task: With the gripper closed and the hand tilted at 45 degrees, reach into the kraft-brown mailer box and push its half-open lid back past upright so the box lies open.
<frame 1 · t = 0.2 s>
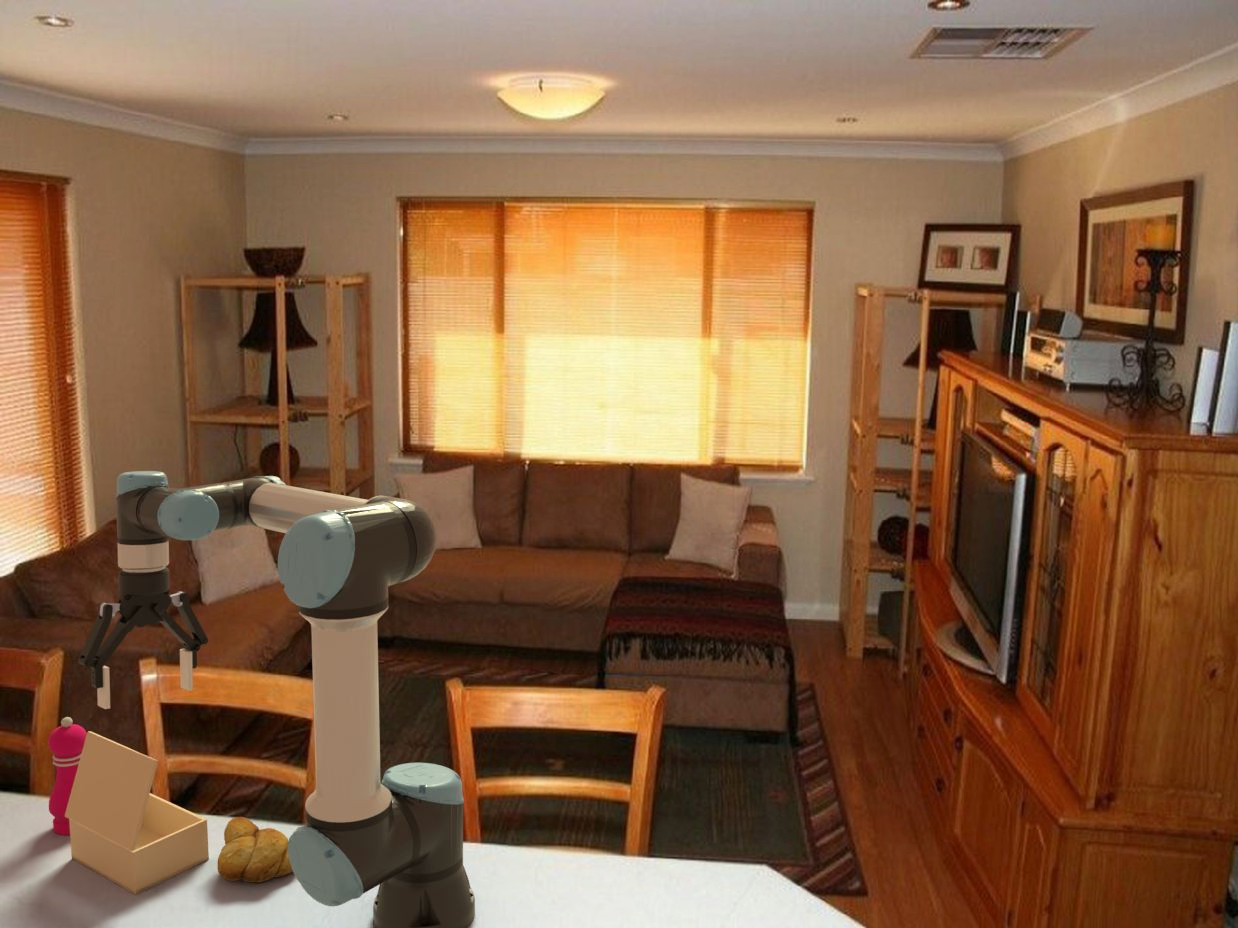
hand: (146, 697, 175), 27 cm above the table, tool pointing down, fingers open, 13 cm apart
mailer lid: (110, 788, 172), point 14 cm above the table, hinge at 70.0°
bread roll: (258, 874, 175), on the table
pepper mill: (73, 827, 188), on the table
mailer box: (140, 858, 178), on the table
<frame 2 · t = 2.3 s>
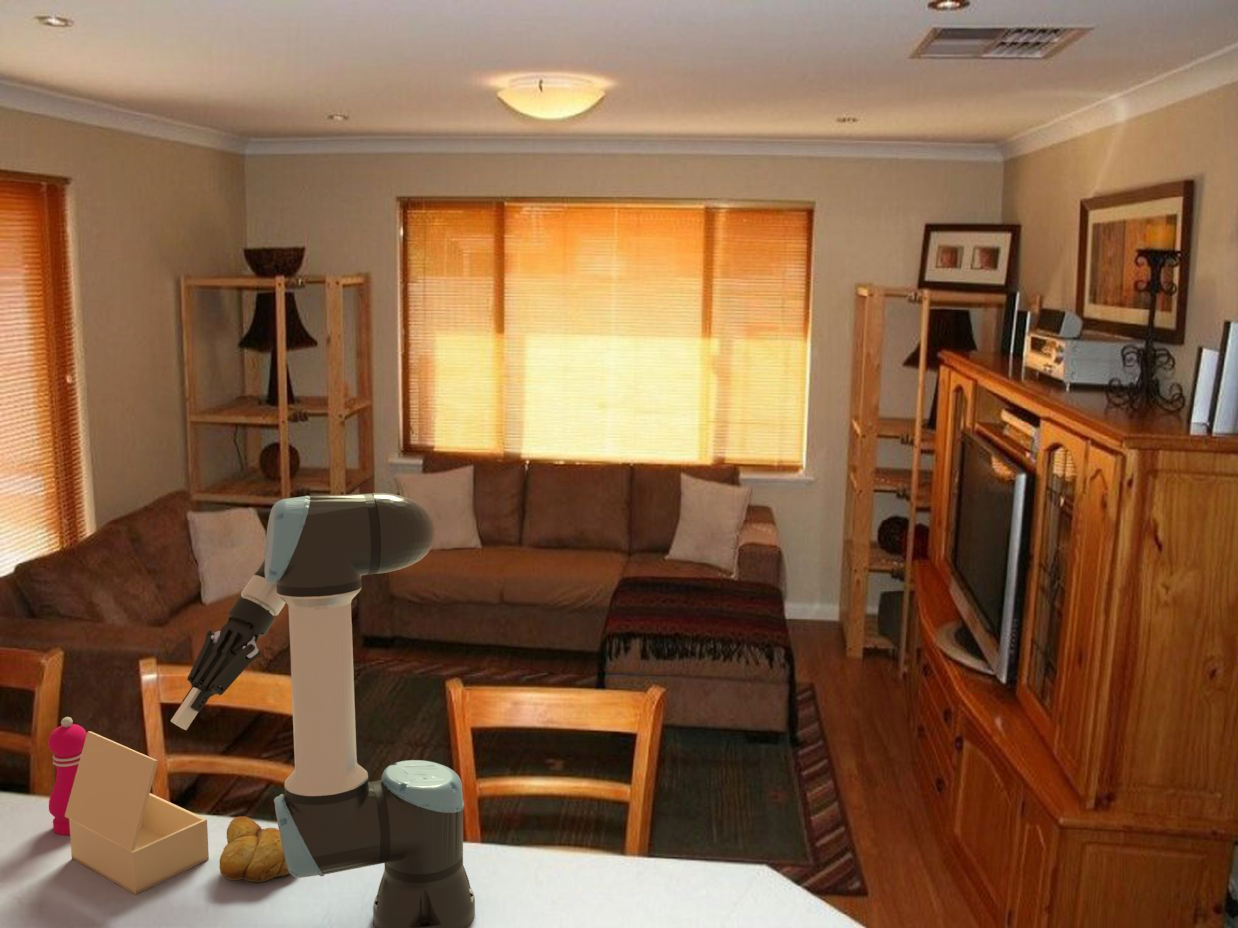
hand: (178, 725, 183), 20 cm above the table, tool tilted 45°, fingers closed
nothing on the table moved.
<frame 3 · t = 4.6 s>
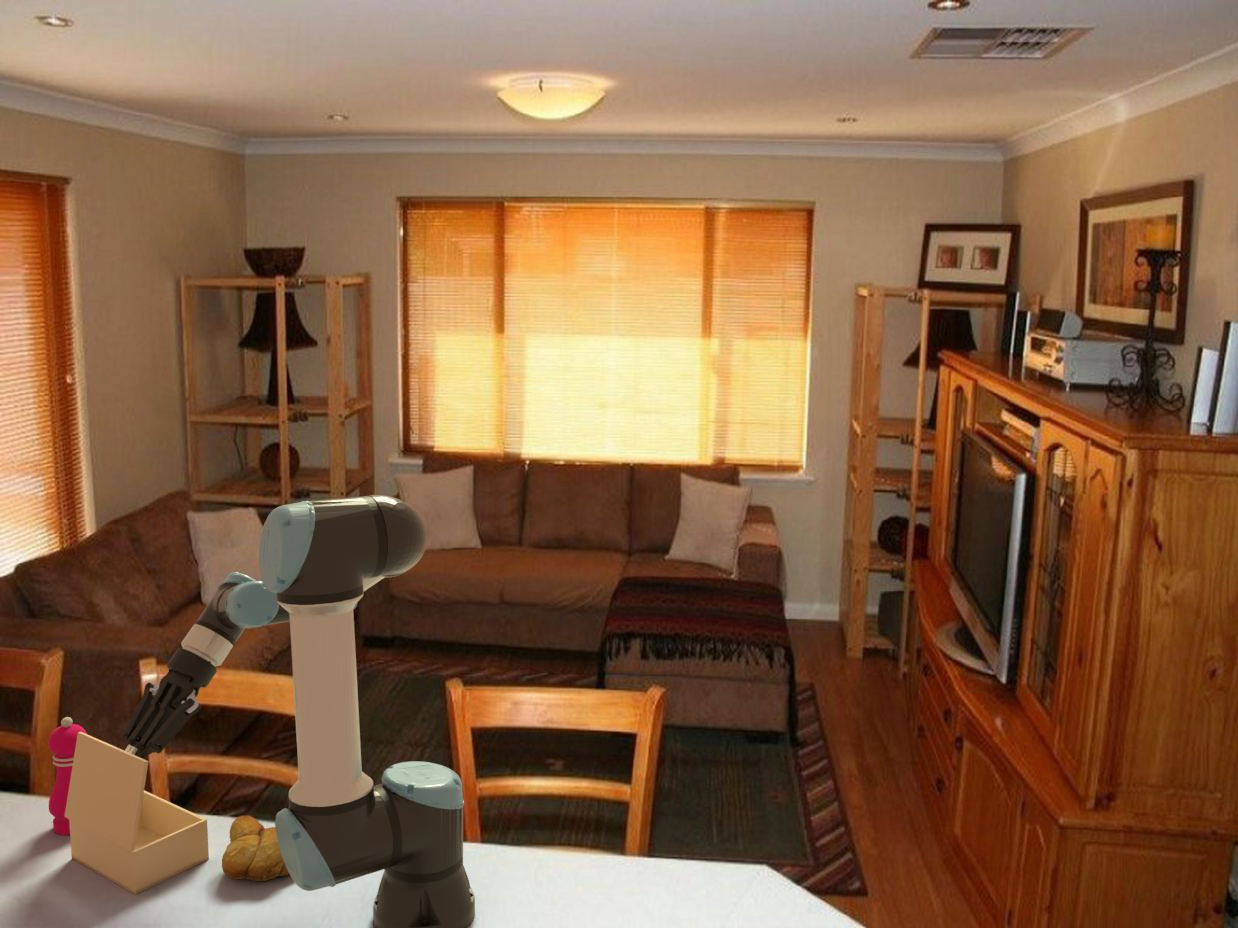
hand: (113, 786, 173), 14 cm above the table, tool tilted 45°, fingers closed, pressing on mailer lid
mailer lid: (105, 789, 171), point 14 cm above the table, hinge at 77.0°, touching gripper
everything else where it was.
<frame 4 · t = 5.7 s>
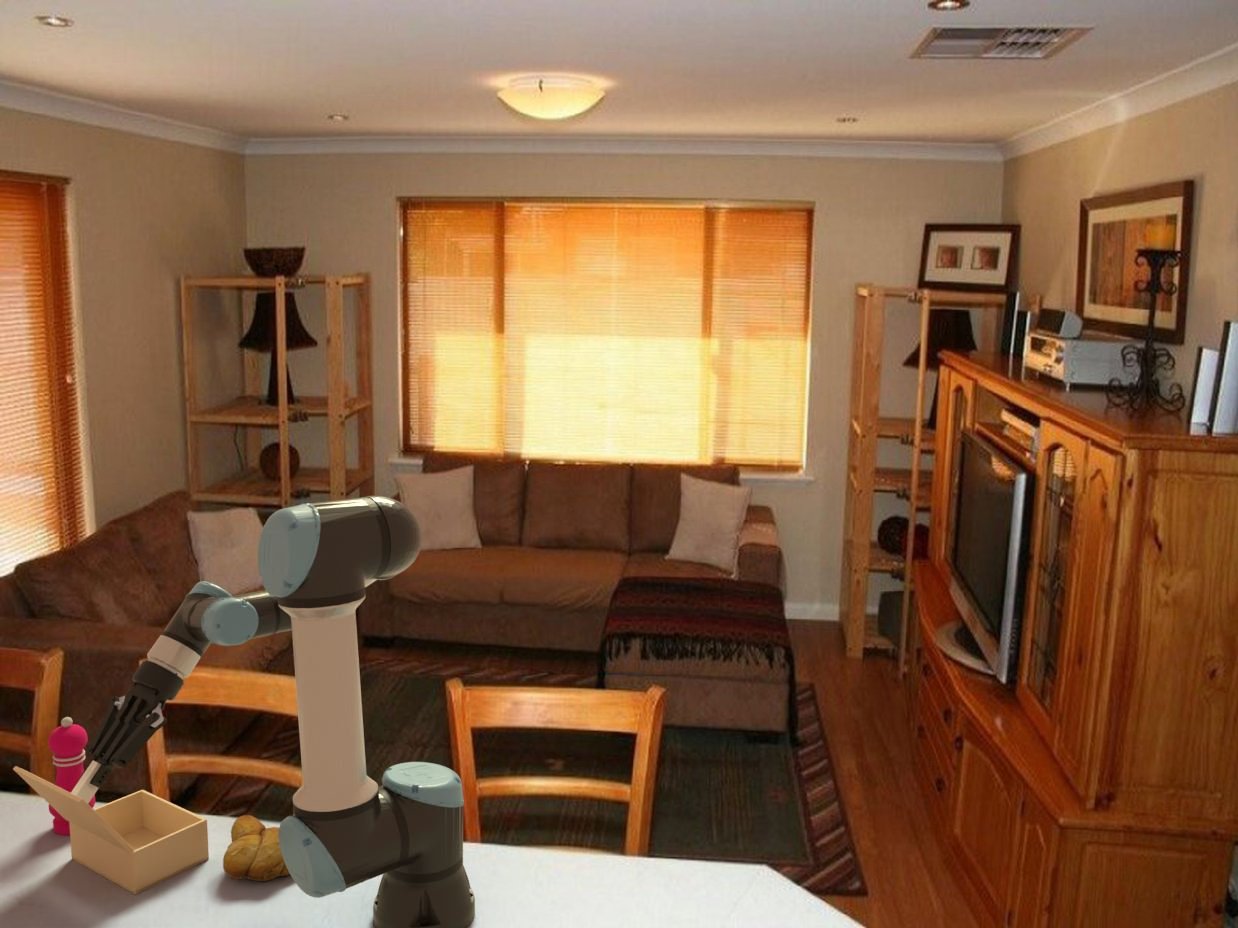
hand: (76, 803, 169), 13 cm above the table, tool tilted 45°, fingers closed
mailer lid: (73, 809, 167), point 13 cm above the table, hinge at 123.3°, touching gripper
everything else where it was.
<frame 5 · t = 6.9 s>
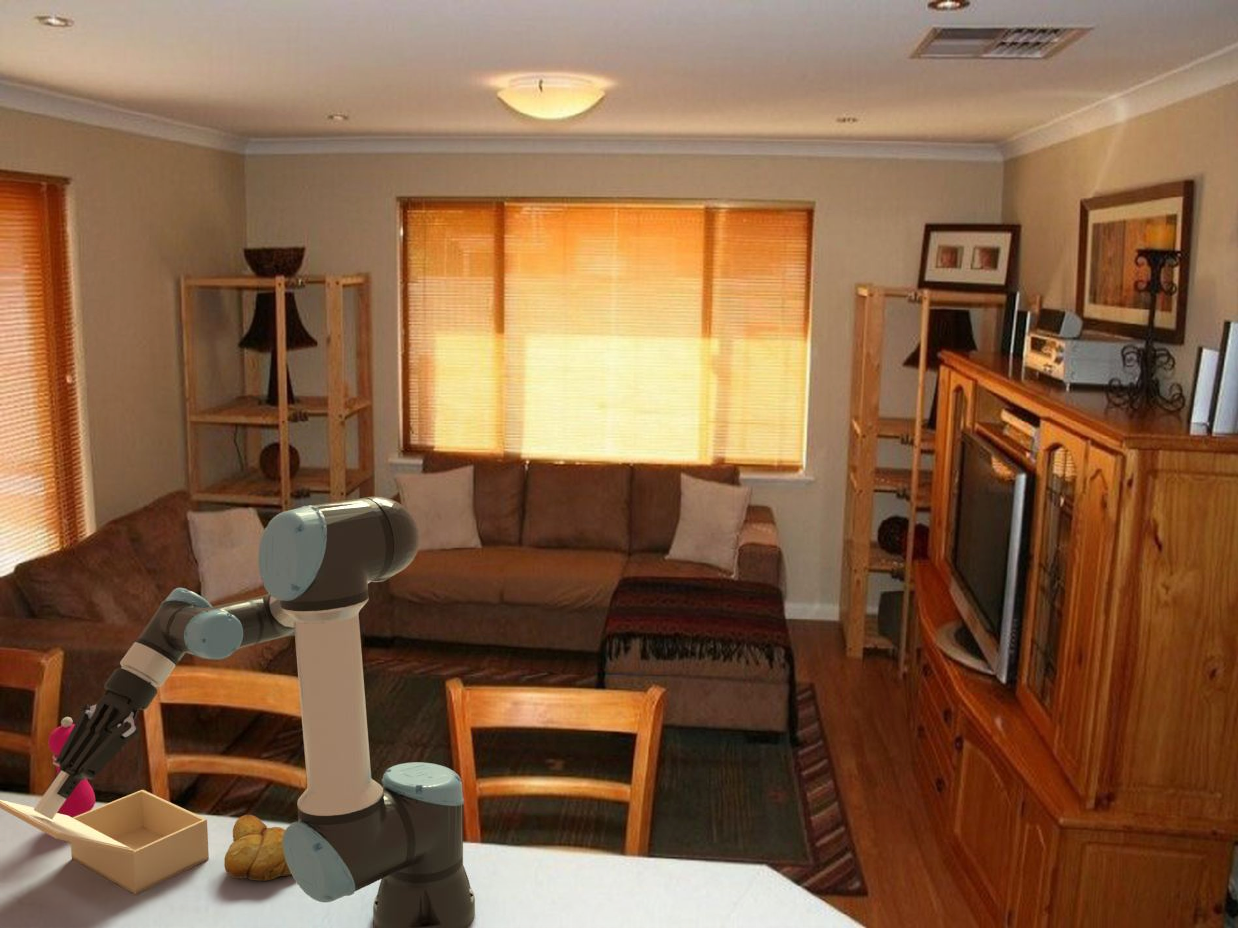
hand: (42, 814, 163), 14 cm above the table, tool tilted 45°, fingers closed
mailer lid: (62, 825, 166), point 11 cm above the table, hinge at 146.1°, touching gripper
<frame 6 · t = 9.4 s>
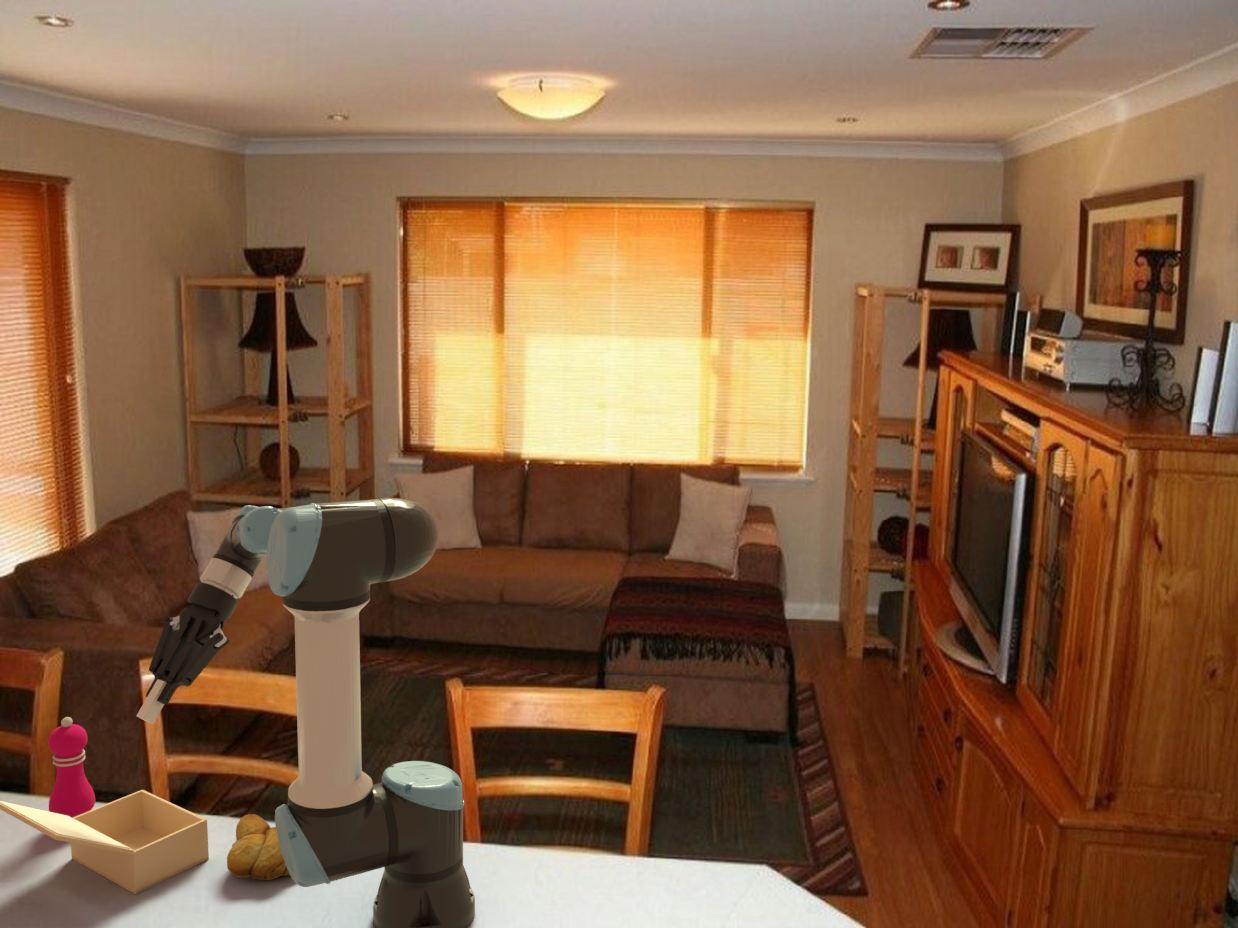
hand: (144, 719, 175), 24 cm above the table, tool tilted 40°, fingers closed
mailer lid: (62, 826, 166), point 11 cm above the table, hinge at 146.8°
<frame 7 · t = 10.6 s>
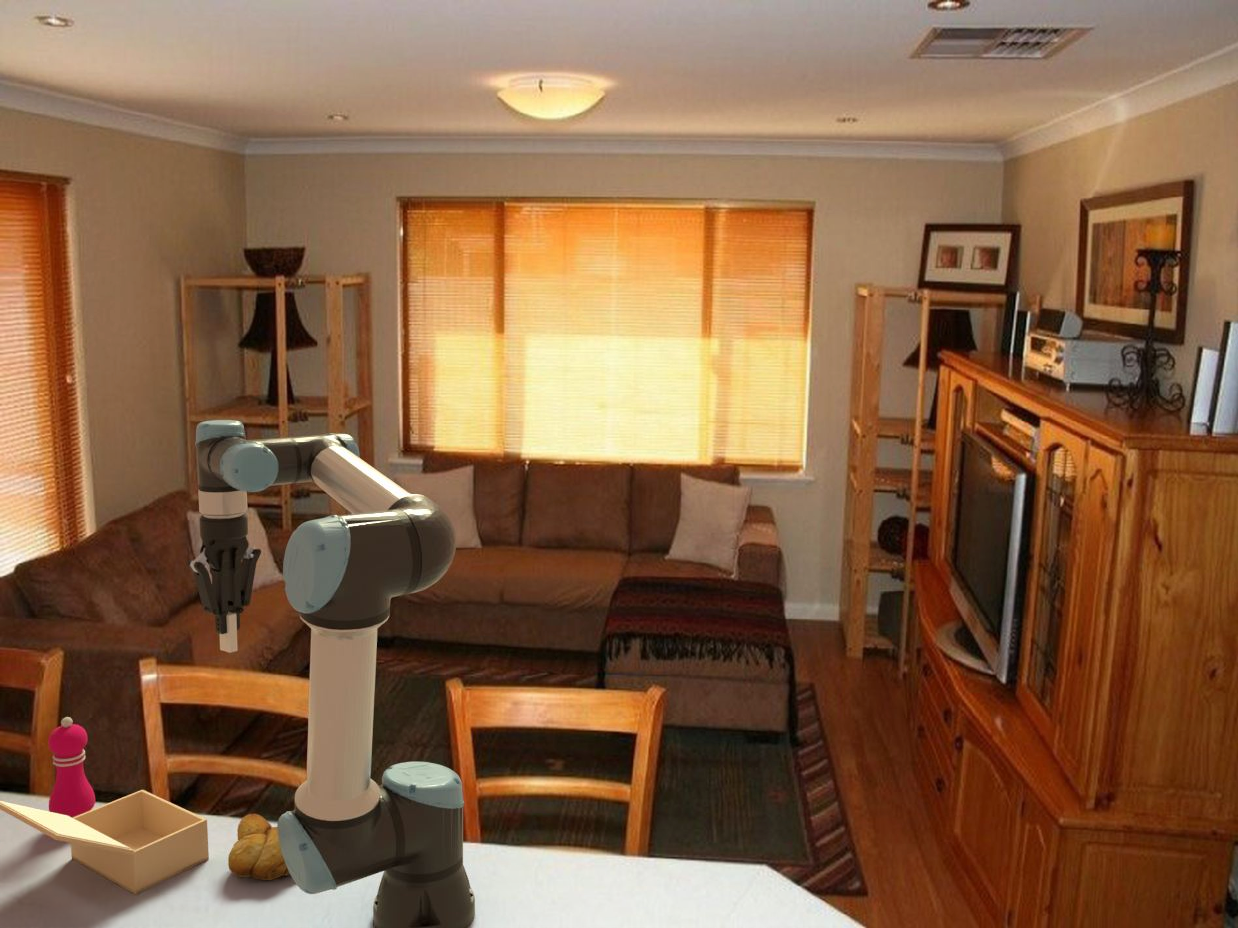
hand: (228, 649, 183), 32 cm above the table, tool pointing down, fingers closed
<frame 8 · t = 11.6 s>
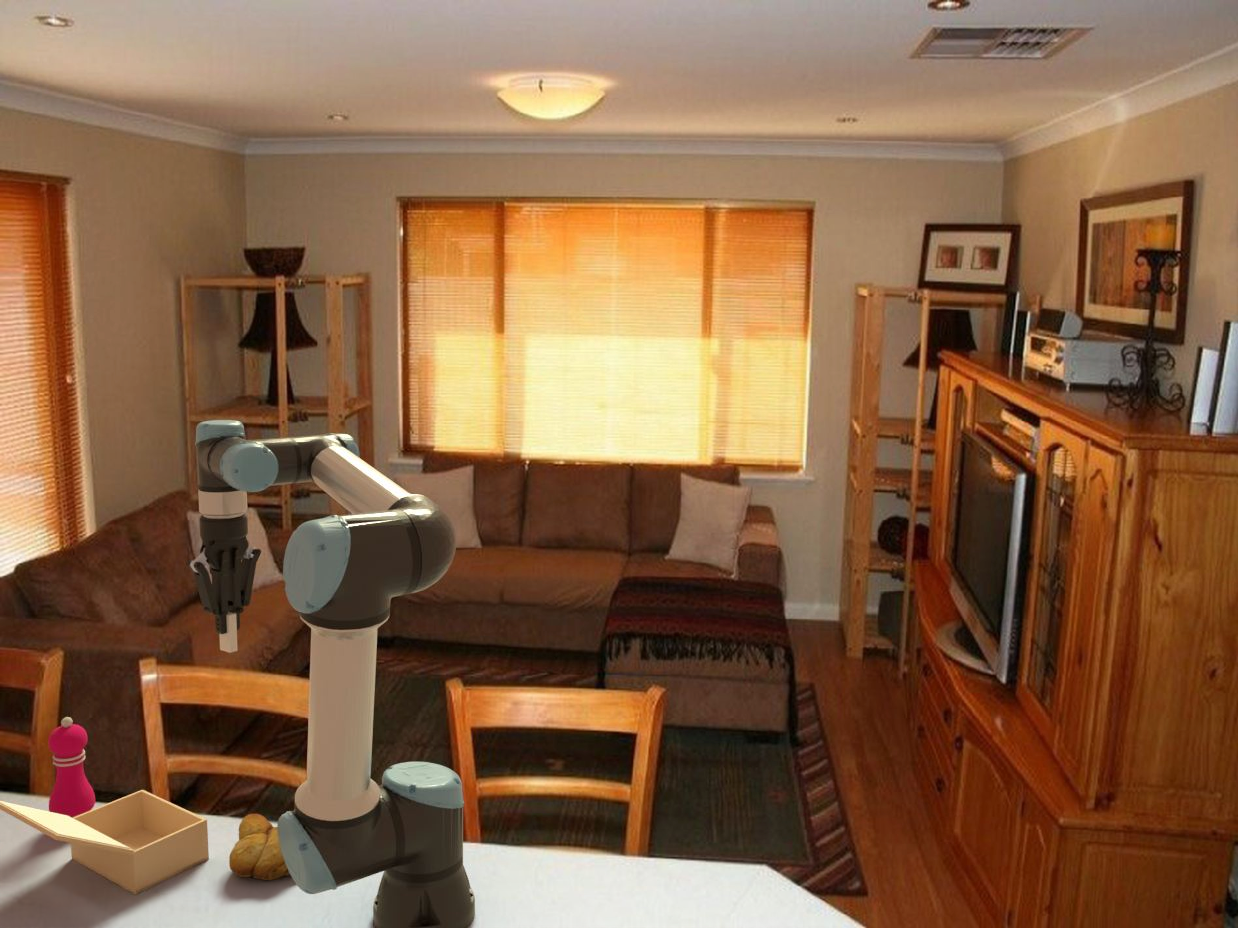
hand: (228, 649, 183), 32 cm above the table, tool pointing down, fingers closed
at the end: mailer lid at +147° (first picture: +70°); pepper mill moved 0.2 cm from its start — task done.
